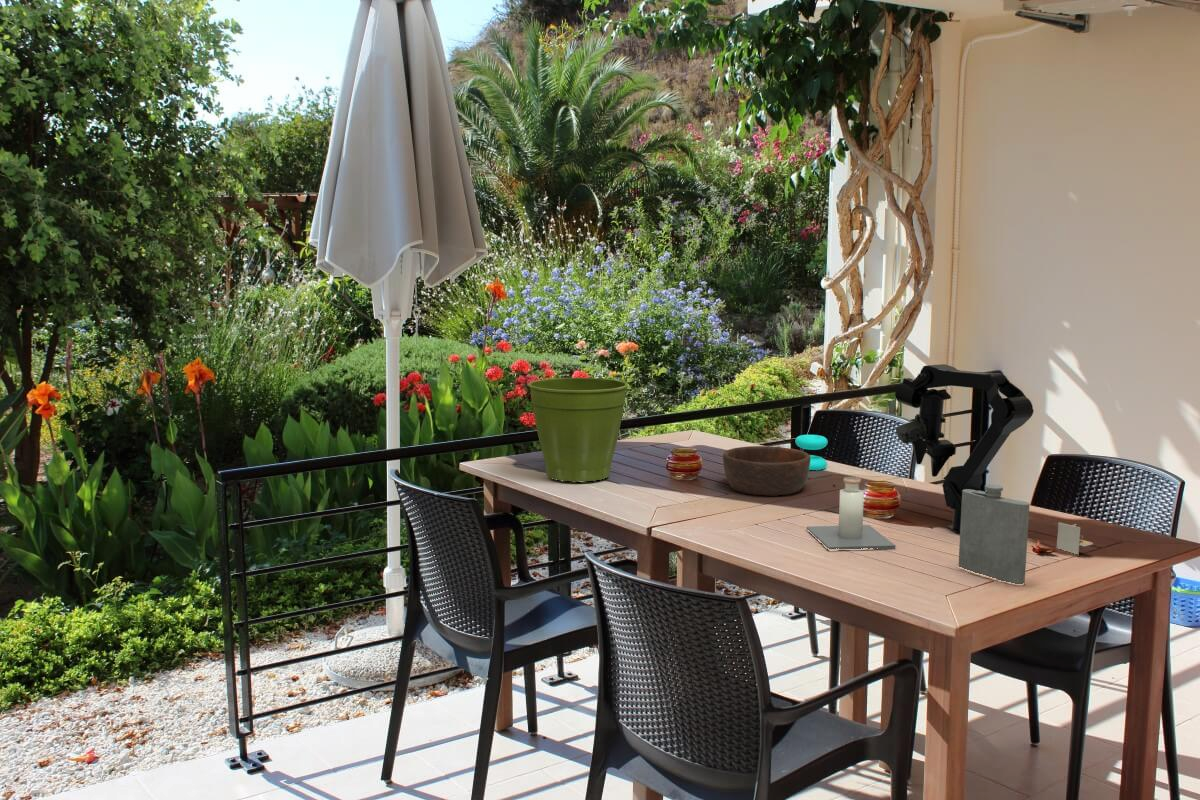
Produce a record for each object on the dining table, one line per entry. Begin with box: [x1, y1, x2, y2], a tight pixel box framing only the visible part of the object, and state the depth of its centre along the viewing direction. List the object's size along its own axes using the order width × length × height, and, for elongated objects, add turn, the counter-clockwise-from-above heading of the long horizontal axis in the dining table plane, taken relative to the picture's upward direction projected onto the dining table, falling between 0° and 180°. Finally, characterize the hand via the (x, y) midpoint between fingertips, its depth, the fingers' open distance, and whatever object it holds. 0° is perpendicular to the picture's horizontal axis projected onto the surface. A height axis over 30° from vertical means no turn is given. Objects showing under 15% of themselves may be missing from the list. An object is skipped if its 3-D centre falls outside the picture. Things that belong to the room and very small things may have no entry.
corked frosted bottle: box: [838, 476, 865, 539], centre depth 259 cm, size 6×6×14 cm
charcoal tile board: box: [806, 524, 897, 550], centre depth 260 cm, size 18×16×1 cm
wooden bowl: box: [722, 445, 811, 497], centre depth 312 cm, size 25×25×10 cm
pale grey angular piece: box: [1056, 521, 1094, 555], centre depth 249 cm, size 3×7×7 cm, turn 32°
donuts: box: [794, 434, 829, 471], centre depth 340 cm, size 10×10×10 cm
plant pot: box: [528, 377, 629, 483], centre depth 325 cm, size 30×30×29 cm
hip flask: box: [958, 484, 1030, 584], centre depth 231 cm, size 16×4×20 cm, turn 34°
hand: (926, 470), depth 280 cm, fingers open, 9 cm apart
